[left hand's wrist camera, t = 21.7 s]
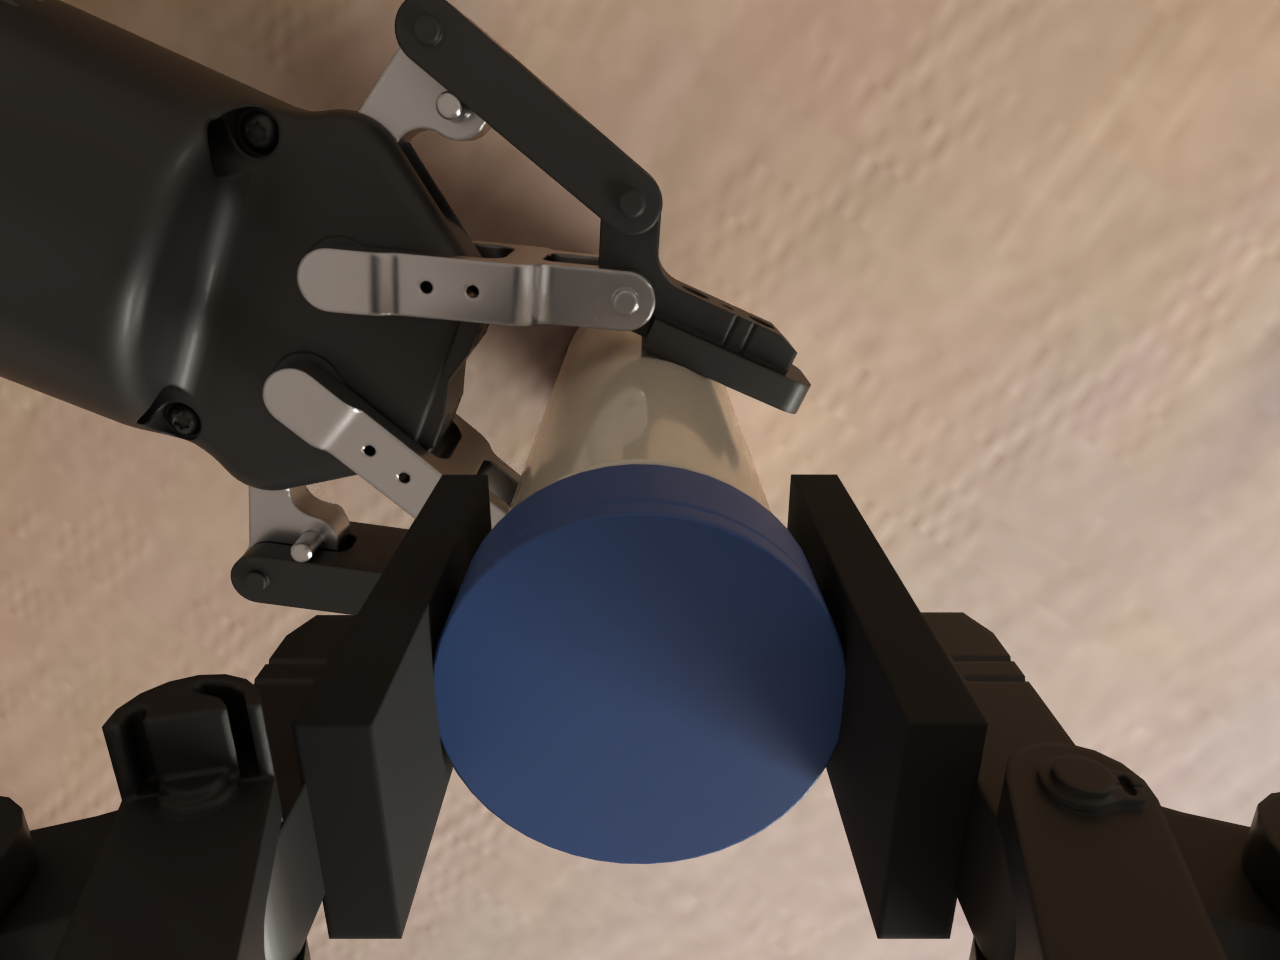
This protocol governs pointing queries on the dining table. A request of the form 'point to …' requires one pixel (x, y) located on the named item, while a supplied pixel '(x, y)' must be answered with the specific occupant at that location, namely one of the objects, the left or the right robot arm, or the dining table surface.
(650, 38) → the dining table surface
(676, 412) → the cream bottle
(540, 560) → the lid
